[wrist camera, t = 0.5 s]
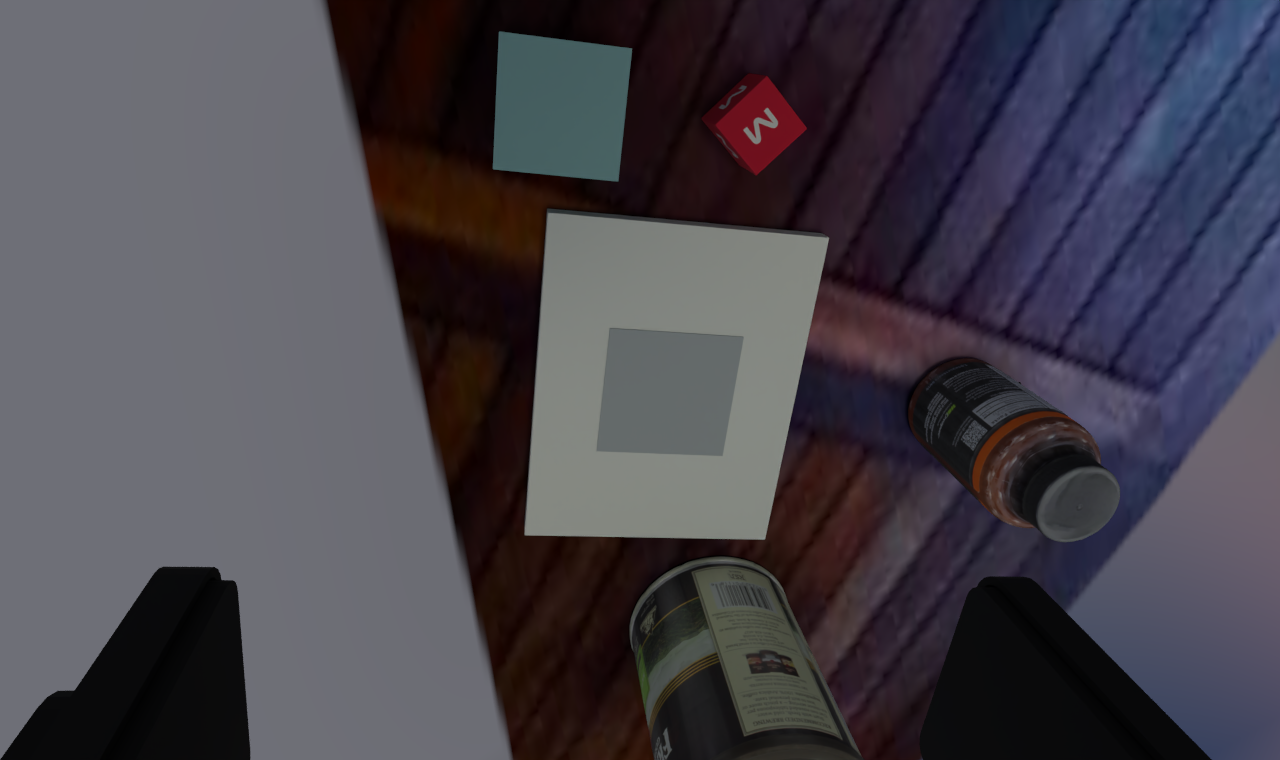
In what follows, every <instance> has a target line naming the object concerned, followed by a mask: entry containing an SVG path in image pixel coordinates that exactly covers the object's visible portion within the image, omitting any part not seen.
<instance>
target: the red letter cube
mask: <svg viewBox="0 0 1280 760" xmlns="http://www.w3.org/2000/svg"><path fill="white" fill-rule="evenodd" d="M701 119H702V121H703V122H704V123H705V124H706V125H707V127H708V128H709V129H710V130H711V132H712V133H713V134H714V135H715V136H716V138H717V139H718V140H719V141H720V143H721V144H722V145H723V146H724V147H725V149H726V150H727V151H728V152H729V153H730V155H731V156H732V157H733V158H734V160H735V161H736V162H737V163H738V164H739V166H741V167H743V168H745V169H746V170H748V171H750V172H751V173H753V174H755V175H757V174H758V173H760V172H761V171H762V170H763V169H764V168H765V167H766V166H767V165H768V164H769V163H770V162H771V161H773V160H774V159H775V158H776V157H777V156H778V155H779V154H780V153H781V152H782V151H783V150H785V149H786V148H787V147H788V146H789V145H790V144H791V143H792V142H793V141H794V140H795V139H796V138H798V137H799V136H800V135H801V134H802V133H803V132H804V131H805V130H806V129H807V128H806V126H805V125H804V124H803V122H802V121H801V120H800V119H799V117H798V116H797V115H796V113H795V112H794V111H793V109H792V108H791V107H790V105H789V104H788V103H787V101H786V100H785V99H784V97H783V96H782V95H781V94H780V92H779V91H778V90H777V88H776V87H775V86H774V84H773V83H772V82H771V80H770V79H769V78H768V76H764V75H758V74H752V73H748V74H747V75H746V76H745V77H744V78H743V79H742V80H741V81H740V82H739V83H738V84H737V85H736V86H735V87H734V88H732V89H731V90H730V91H729V92H728V93H727V94H726V95H725V96H724V97H723V98H722V99H721V100H720V101H719V102H718V103H717V104H716V105H715V106H714V107H713V108H711V109H710V110H709V111H708V112H707V113H706V114H705V115H704V116H703V117H702V118H701Z"/></svg>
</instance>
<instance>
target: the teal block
mask: <svg viewBox="0 0 1280 760" xmlns="http://www.w3.org/2000/svg"><path fill="white" fill-rule="evenodd" d="M631 55H632V48H624V47H616V46H608V45H601V44H593V43H585V42H577V41H570V40H562V39H554V38H546V37H538V36H531V35H523V34H515V33H507V32H499V42H498V65H497V87H496V110H495V133H494V155H493V169H496V170H506V171H516V172H526V173H536V174H547V175H557V176H567V177H577V178H587V179H598V180H608V181H618V178H619V169H620V159H621V150H622V140H623V131H624V121H625V112H626V102H627V93H628V83H629V74H630V64H631Z"/></svg>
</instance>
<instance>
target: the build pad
mask: <svg viewBox="0 0 1280 760" xmlns="http://www.w3.org/2000/svg"><path fill="white" fill-rule="evenodd" d="M828 240H829V237H827V236H825V235H824V234H822V233H813V232H802V231H791V230H780V229H769V228H758V227H747V226H736V225H725V224H714V223H703V222H692V221H681V220H670V219H659V218H648V217H637V216H626V215H615V214H604V213H593V212H582V211H571V210H559V209H548V208H547V219H546V233H545V247H544V261H543V275H542V289H541V303H540V317H539V331H538V345H537V359H536V373H535V387H534V401H533V415H532V429H531V443H530V457H529V471H528V485H527V499H526V513H525V535H547V536H601V537H655V538H709V539H763V540H765V537H766V532H767V527H768V523H769V518H770V513H771V508H772V504H773V499H774V494H775V490H776V485H777V480H778V476H779V471H780V466H781V461H782V457H783V452H784V447H785V443H786V438H787V433H788V429H789V424H790V419H791V414H792V410H793V405H794V400H795V396H796V391H797V386H798V382H799V377H800V372H801V367H802V363H803V358H804V353H805V349H806V344H807V339H808V334H809V330H810V325H811V320H812V316H813V311H814V306H815V302H816V297H817V292H818V287H819V283H820V278H821V273H822V269H823V264H824V259H825V255H826V250H827V245H828Z"/></svg>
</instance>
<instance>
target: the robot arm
mask: <svg viewBox="0 0 1280 760" xmlns="http://www.w3.org/2000/svg"><path fill="white" fill-rule="evenodd" d="M920 750H921V754H922V758H923V760H1211V759H1210V758H1209V757H1208V756H1207V755H1206V754H1205V753H1204V752H1203V751H1202V750H1201V748H1199V747H1198V745H1197V744H1196V743H1195V742H1194V741H1192V739H1191V738H1189V736H1188V735H1186V734H1185V732H1184V731H1183V730H1182V729H1181V728H1180V727H1179V726H1178V725H1177V724H1176V723H1175V722H1174V721H1173V720H1172V719H1171V718H1170V717H1169V716H1168V715H1167V714H1166V713H1165V712H1164V711H1163V710H1162V709H1161V708H1160V707H1159V706H1158V705H1157V704H1156V703H1155V702H1154V701H1153V700H1152V699H1151V698H1150V697H1149V696H1148V695H1147V694H1146V693H1145V692H1144V691H1143V690H1142V689H1141V688H1140V687H1139V686H1138V685H1137V684H1136V683H1135V682H1134V681H1133V680H1132V679H1131V678H1130V677H1129V676H1128V675H1127V674H1126V673H1125V672H1124V671H1123V670H1122V669H1121V668H1120V667H1119V666H1118V665H1117V664H1116V663H1115V662H1114V661H1113V660H1112V659H1111V658H1110V657H1109V656H1108V655H1107V654H1106V653H1105V651H1103V649H1102V648H1101V647H1100V646H1099V645H1098V644H1096V643H1095V641H1094V640H1093V639H1092V638H1091V637H1090V636H1089V635H1088V634H1087V633H1086V632H1085V631H1084V630H1082V628H1081V627H1080V626H1079V625H1078V624H1077V623H1076V622H1075V621H1074V620H1073V619H1072V618H1071V617H1070V616H1069V615H1068V614H1067V613H1066V612H1065V611H1064V610H1063V609H1062V608H1061V607H1060V606H1059V605H1058V604H1057V603H1056V602H1055V601H1054V600H1053V599H1052V598H1051V597H1050V596H1049V595H1048V594H1047V593H1046V592H1045V591H1044V590H1043V589H1042V588H1041V587H1040V586H1039V585H1038V584H1037V583H1036V582H1035V581H1033V580H1032V579H1030V578H1026V577H991V576H990V577H986V578H984V579H982V580H981V581H980V582H979V584H978V586H977V587H976V588H973V589H971V590H970V591H969V593H968V595H967V597H966V600H965V603H964V606H963V609H962V612H961V615H960V618H959V621H958V624H957V627H956V630H955V633H954V636H953V639H952V642H951V645H950V648H949V651H948V654H947V656H946V659H945V662H944V665H943V668H942V671H941V674H940V677H939V680H938V683H937V686H936V689H935V692H934V695H933V698H932V701H931V704H930V707H929V710H928V713H927V716H926V718H925V721H924V724H923V727H922V730H921V734H920ZM0 760H250V742H249V729H248V717H247V703H246V691H245V679H244V665H243V653H242V639H241V627H240V614H239V601H238V591H237V585H236V583H235V581H228V580H226V581H225V580H221V575H220V573H219V570H218V569H217V568H215V567H162V568H159V569H158V570H157V571H156V572H155V573H154V575H153V576H152V578H151V579H150V580H149V582H148V583H147V585H146V586H145V588H144V589H143V591H142V592H141V594H140V595H139V597H138V598H137V600H136V601H135V602H134V604H133V606H132V607H131V608H130V610H129V611H128V613H127V614H126V616H125V617H124V619H123V620H122V622H121V623H120V625H119V626H118V628H117V629H116V630H115V632H114V634H113V635H112V636H111V638H110V639H109V641H108V642H107V644H106V645H105V647H104V648H103V650H102V651H101V653H100V654H99V656H98V657H97V658H96V660H95V661H94V663H93V664H92V666H91V667H90V669H89V670H88V672H87V674H86V675H85V676H84V678H83V679H82V681H81V682H80V684H79V685H78V687H77V688H76V689H75V691H57V692H55V693H54V694H52V695H50V696H48V697H47V698H46V699H45V700H44V702H43V703H42V704H41V705H40V706H39V707H38V708H37V709H36V711H35V712H34V713H33V715H32V716H31V718H30V719H29V720H28V722H27V723H26V725H25V726H24V727H23V729H22V730H21V731H20V733H19V735H18V736H17V737H16V738H15V740H14V741H13V743H12V744H11V745H10V747H9V748H8V750H7V751H6V752H5V754H4V755H3V757H2V758H1V759H0Z"/></svg>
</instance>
